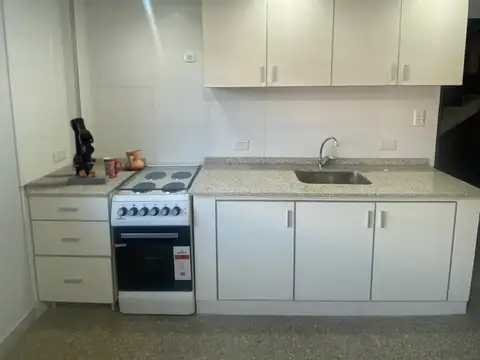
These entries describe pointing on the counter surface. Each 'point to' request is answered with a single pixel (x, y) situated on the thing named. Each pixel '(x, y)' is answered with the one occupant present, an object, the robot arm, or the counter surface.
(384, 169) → the counter surface
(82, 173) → the tan pronged block
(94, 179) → the rail
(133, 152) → the ceramic jug
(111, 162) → the mug
